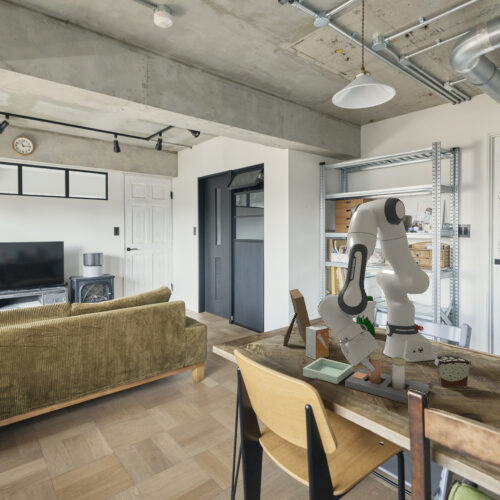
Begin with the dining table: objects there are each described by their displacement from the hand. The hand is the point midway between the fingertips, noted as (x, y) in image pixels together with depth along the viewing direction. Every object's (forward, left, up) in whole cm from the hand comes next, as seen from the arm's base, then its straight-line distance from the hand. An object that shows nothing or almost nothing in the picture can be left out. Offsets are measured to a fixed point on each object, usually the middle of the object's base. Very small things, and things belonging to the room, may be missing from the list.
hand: (376, 367), depth 124 cm
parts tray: (+14, -12, -7) cm, 20 cm away
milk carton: (-18, -63, -7) cm, 65 cm away
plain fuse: (-6, +5, -7) cm, 10 cm away
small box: (+14, -32, -7) cm, 36 cm away
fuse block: (-3, +2, -7) cm, 8 cm away
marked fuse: (0, 0, -7) cm, 7 cm away
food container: (-27, -2, -7) cm, 28 cm away
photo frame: (+20, -52, -7) cm, 56 cm away
